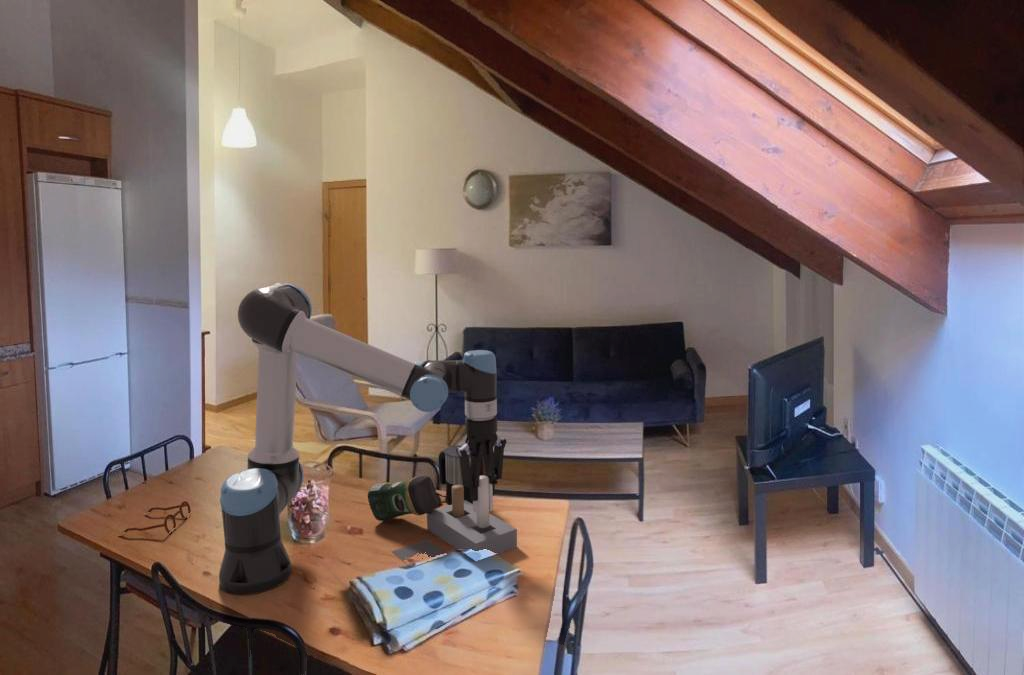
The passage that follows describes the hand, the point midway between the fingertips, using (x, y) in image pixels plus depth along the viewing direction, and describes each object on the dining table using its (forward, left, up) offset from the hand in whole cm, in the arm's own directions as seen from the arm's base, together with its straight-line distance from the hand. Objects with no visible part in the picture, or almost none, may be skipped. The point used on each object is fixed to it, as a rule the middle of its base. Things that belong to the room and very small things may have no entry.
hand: (483, 510), depth 164 cm
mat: (-14, +7, -10) cm, 18 cm away
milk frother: (+8, +28, -10) cm, 31 cm away
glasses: (-60, +65, -10) cm, 89 cm away
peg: (0, 0, -4) cm, 4 cm away
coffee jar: (-12, +32, -5) cm, 34 cm away
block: (0, +6, -10) cm, 11 cm away
